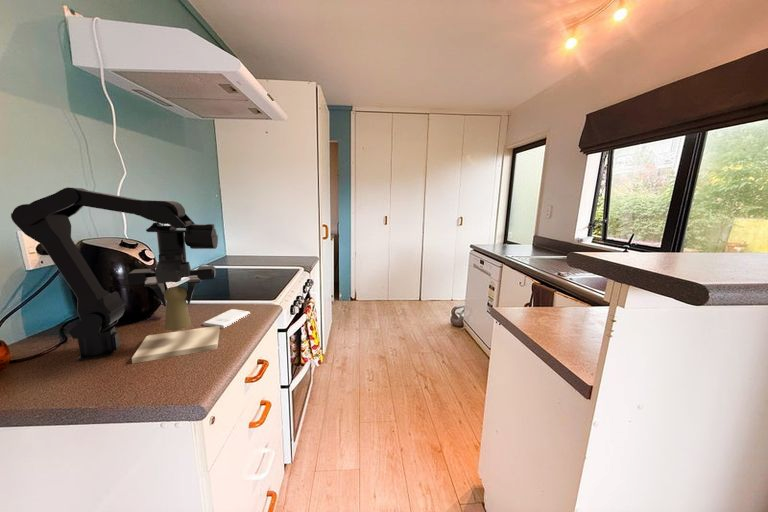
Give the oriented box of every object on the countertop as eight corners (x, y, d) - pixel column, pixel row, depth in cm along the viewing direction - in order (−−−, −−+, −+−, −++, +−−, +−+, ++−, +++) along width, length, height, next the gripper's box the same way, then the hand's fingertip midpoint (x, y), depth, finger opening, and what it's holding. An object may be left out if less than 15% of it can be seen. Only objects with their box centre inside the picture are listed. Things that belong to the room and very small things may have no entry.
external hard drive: (250, 315, 101) (223, 329, 89) (231, 313, 103) (202, 326, 91) (250, 311, 101) (223, 325, 89) (230, 308, 103) (202, 321, 91)
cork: (162, 324, 77) (160, 286, 75) (188, 319, 81) (186, 283, 79) (165, 332, 73) (163, 292, 71) (193, 326, 77) (191, 288, 75)
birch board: (132, 363, 69) (131, 358, 68) (147, 340, 80) (146, 335, 80) (216, 349, 77) (216, 344, 76) (219, 330, 88) (219, 325, 88)
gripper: (113, 255, 62) (121, 321, 65) (210, 252, 71) (214, 310, 73) (130, 248, 72) (137, 305, 75) (214, 246, 80) (217, 297, 83)
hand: (177, 304), depth 76 cm, fingers closed on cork, 5 cm apart
